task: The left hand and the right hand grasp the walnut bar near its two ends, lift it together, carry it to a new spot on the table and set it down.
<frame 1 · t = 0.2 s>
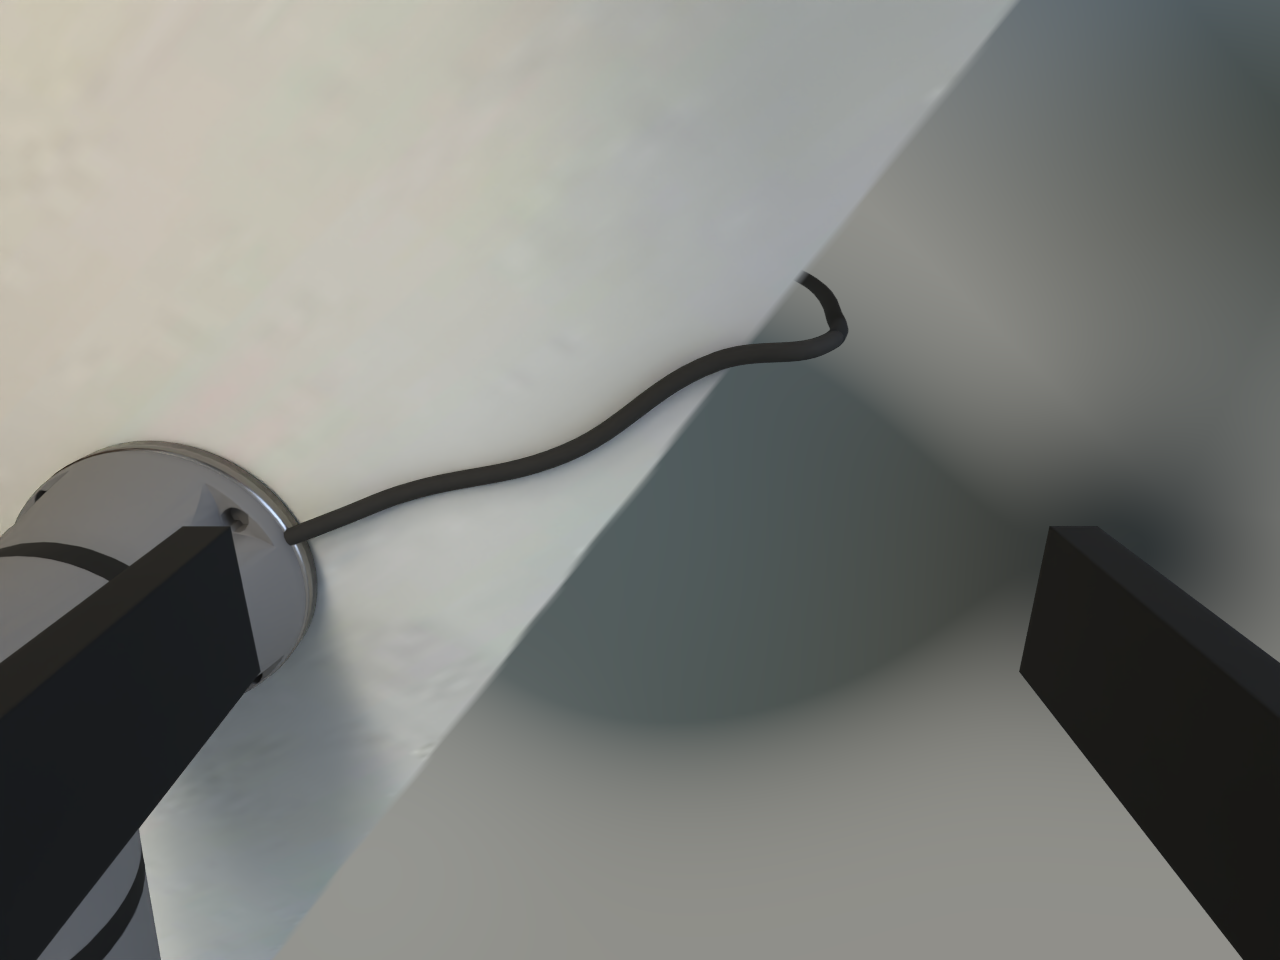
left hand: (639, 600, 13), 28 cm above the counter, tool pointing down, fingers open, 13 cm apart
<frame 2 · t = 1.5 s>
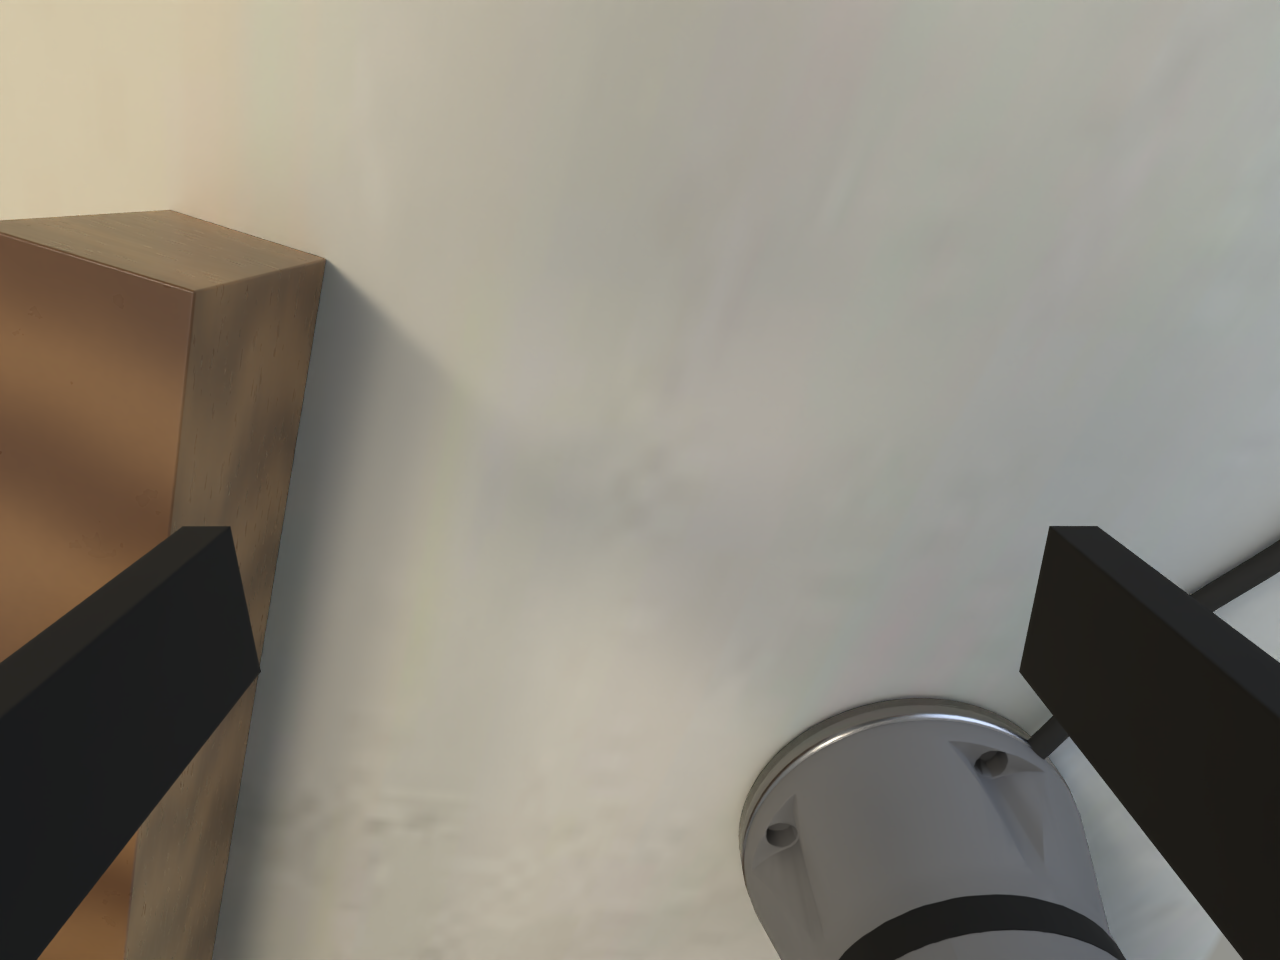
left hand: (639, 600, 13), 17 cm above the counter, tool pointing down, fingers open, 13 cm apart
bar: (176, 805, 36), on the counter
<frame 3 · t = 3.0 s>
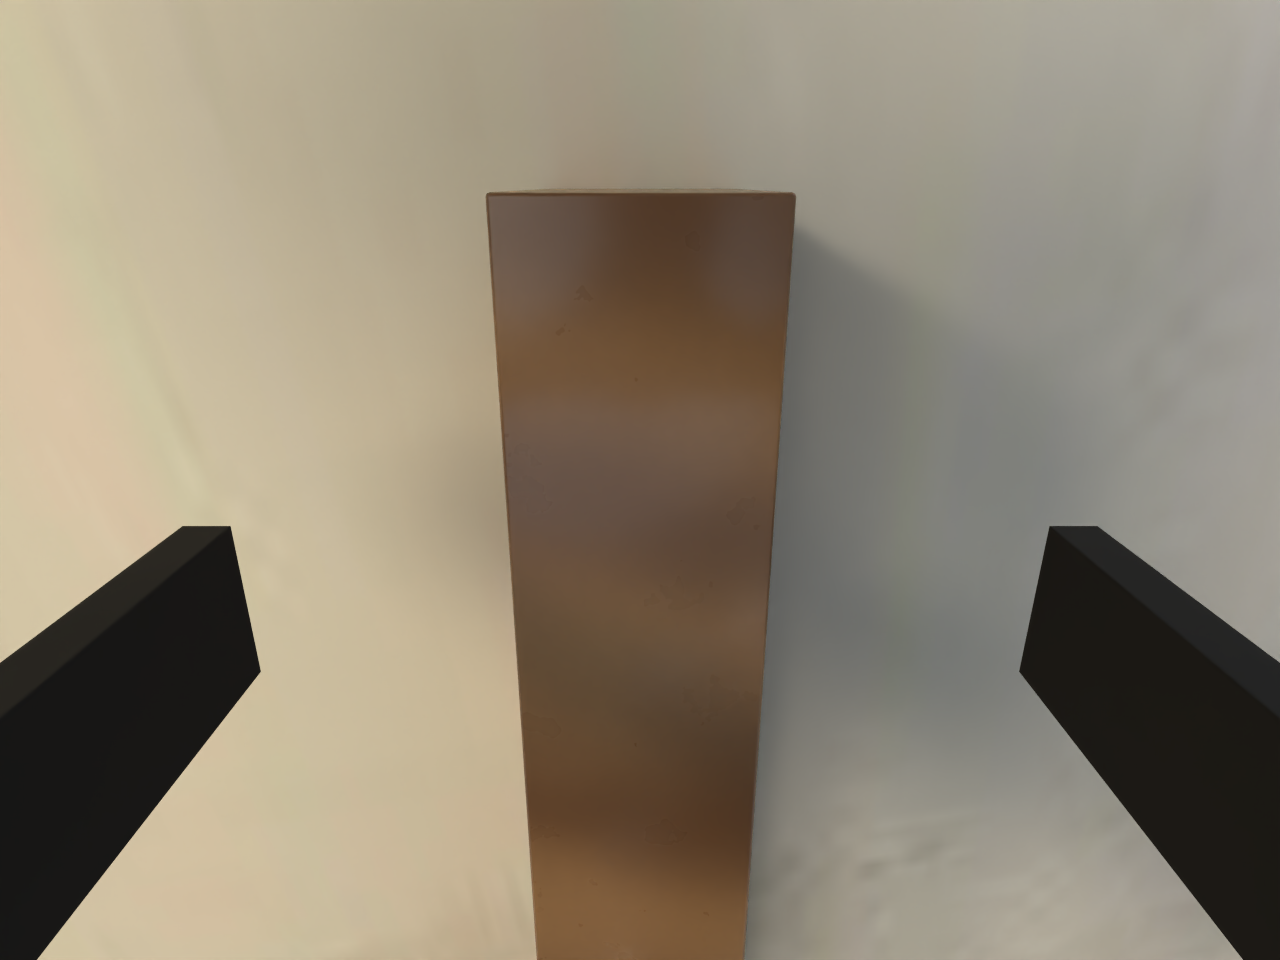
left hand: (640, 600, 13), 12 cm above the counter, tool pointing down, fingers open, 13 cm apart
bar: (640, 898, 31), on the counter, touching right hand
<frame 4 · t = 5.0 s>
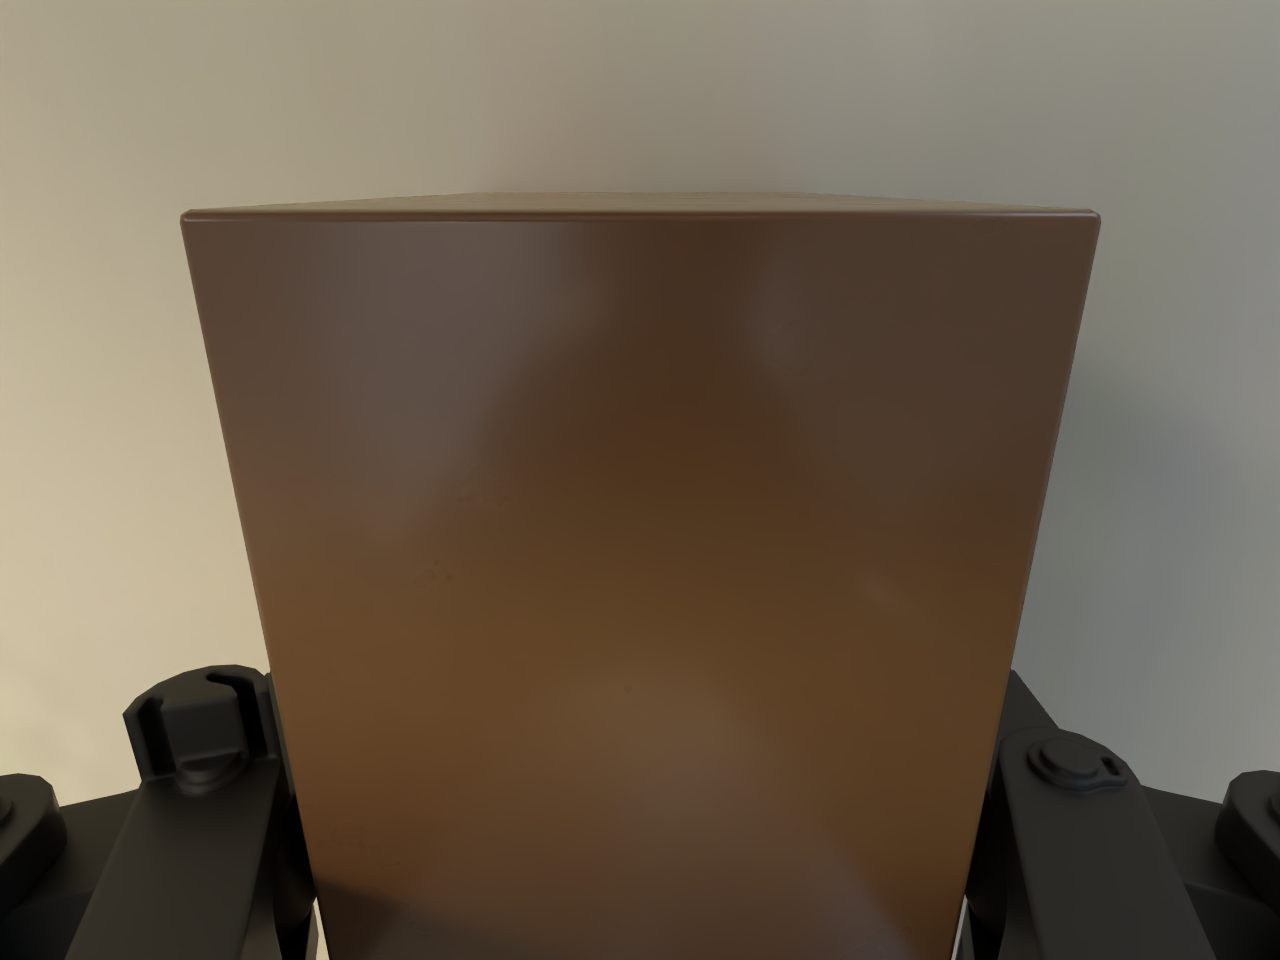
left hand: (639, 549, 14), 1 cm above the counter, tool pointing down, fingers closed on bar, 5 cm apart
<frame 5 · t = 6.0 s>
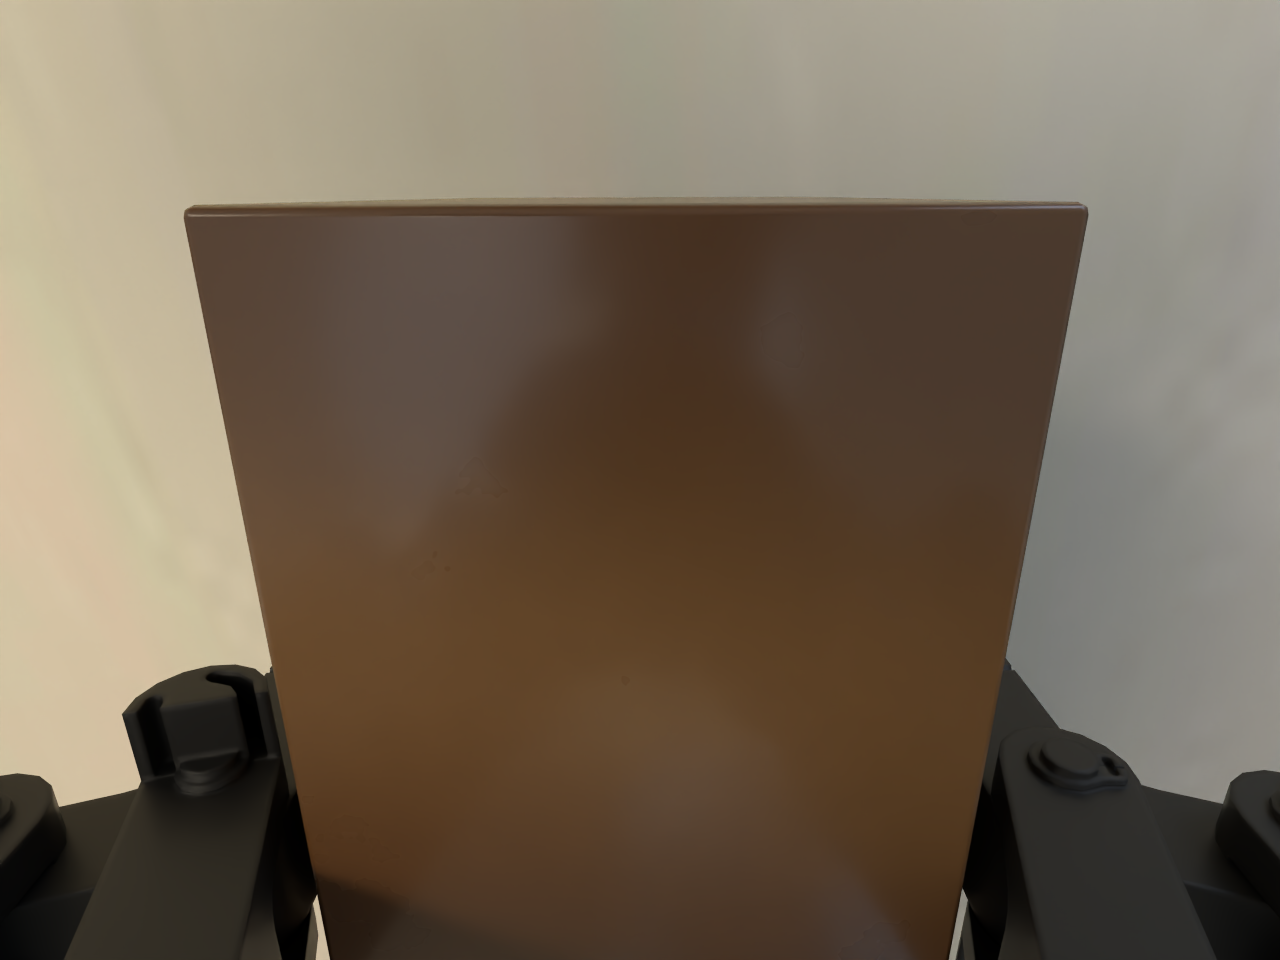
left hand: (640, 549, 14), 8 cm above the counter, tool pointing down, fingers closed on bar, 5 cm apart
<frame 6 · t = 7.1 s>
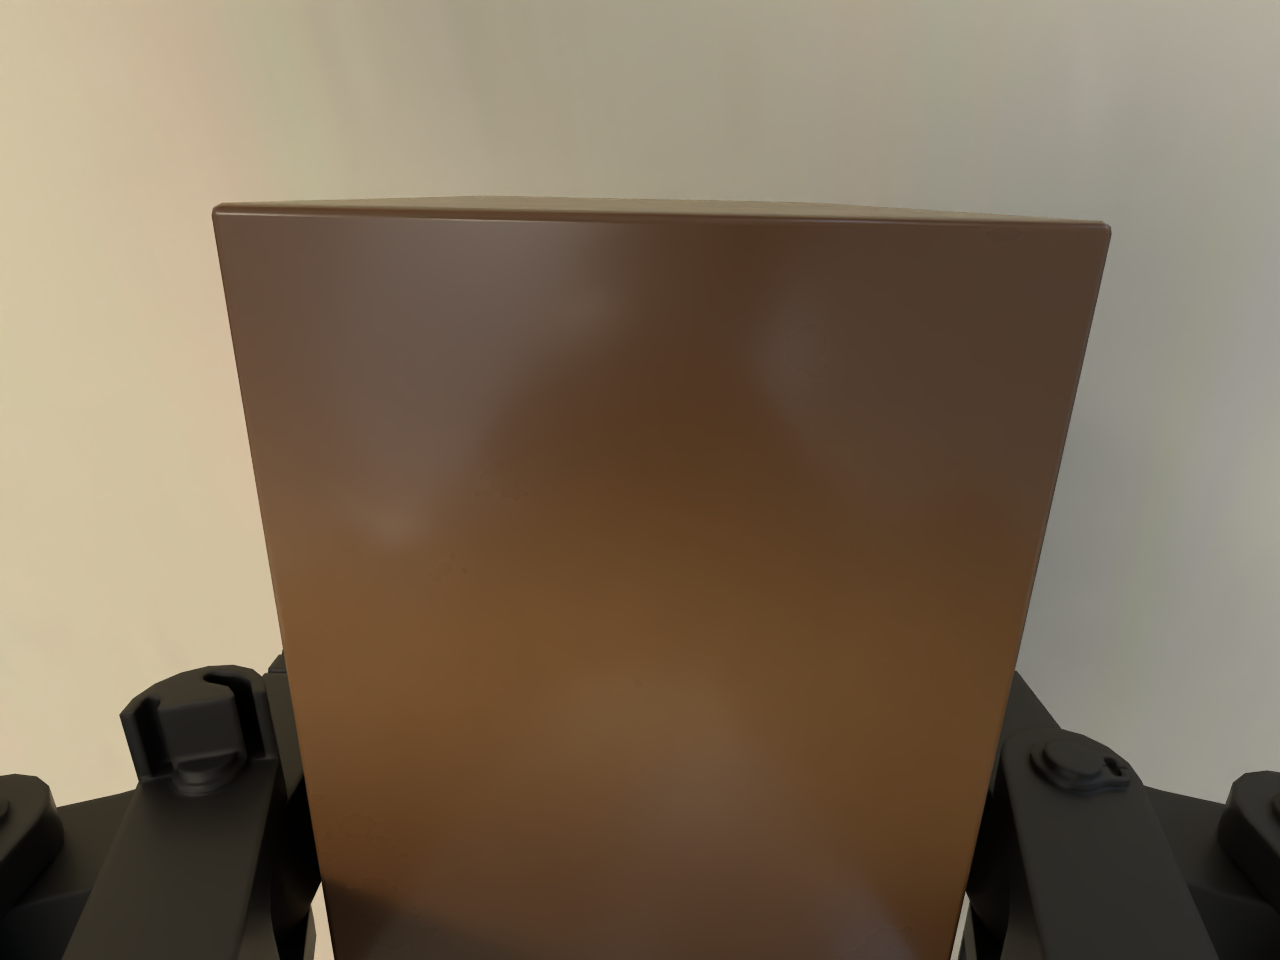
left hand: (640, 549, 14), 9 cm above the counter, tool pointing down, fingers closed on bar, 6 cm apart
when the left hand's fingers open (2 cm above the counter, at t = 9.2 s): bar drops 2 cm, on the counter.
when the right hand's fingers open (2 cm above the counter, at t = 9.2 s): bar drops 2 cm, on the counter.
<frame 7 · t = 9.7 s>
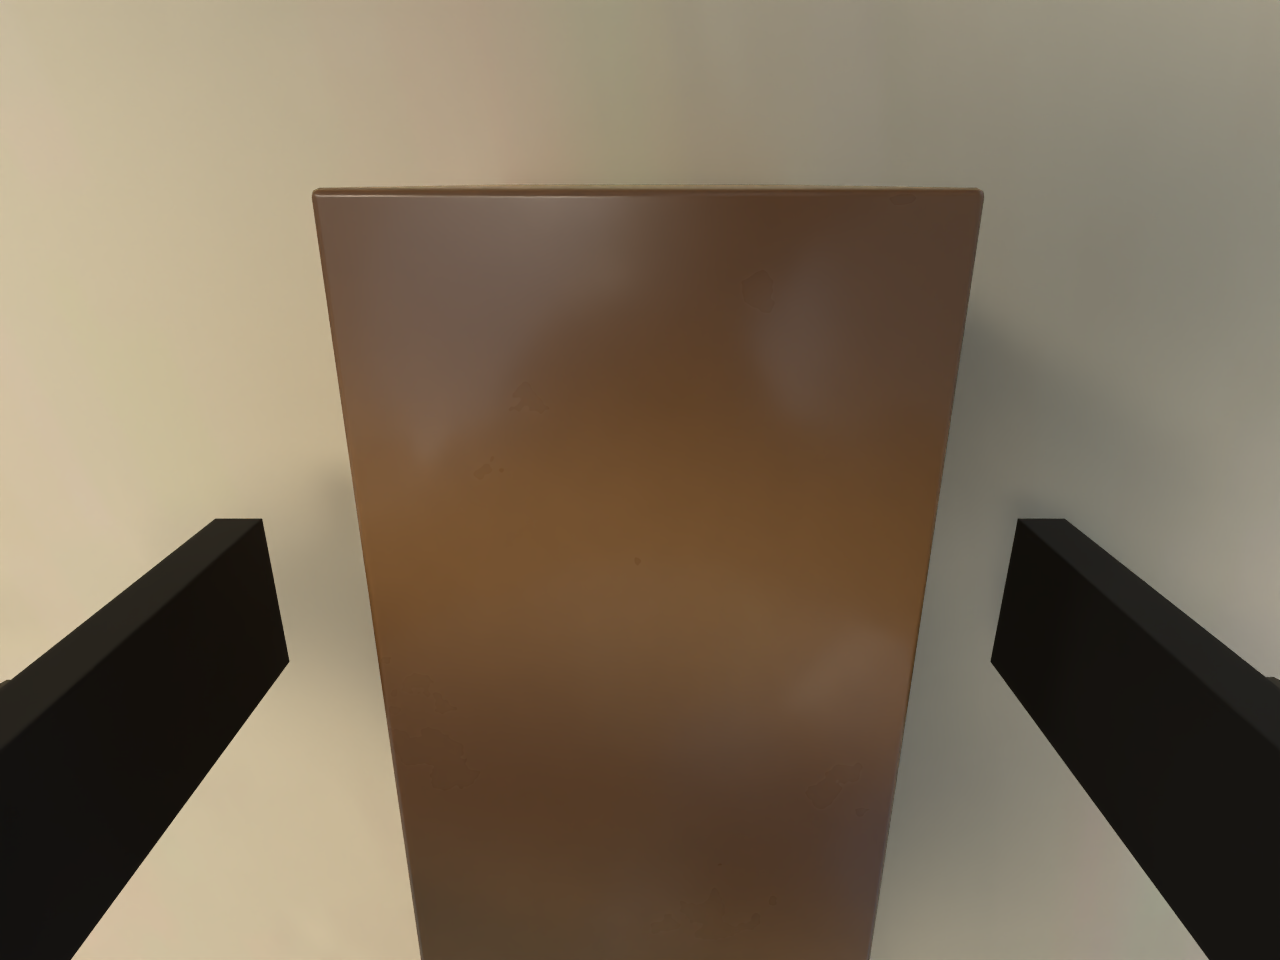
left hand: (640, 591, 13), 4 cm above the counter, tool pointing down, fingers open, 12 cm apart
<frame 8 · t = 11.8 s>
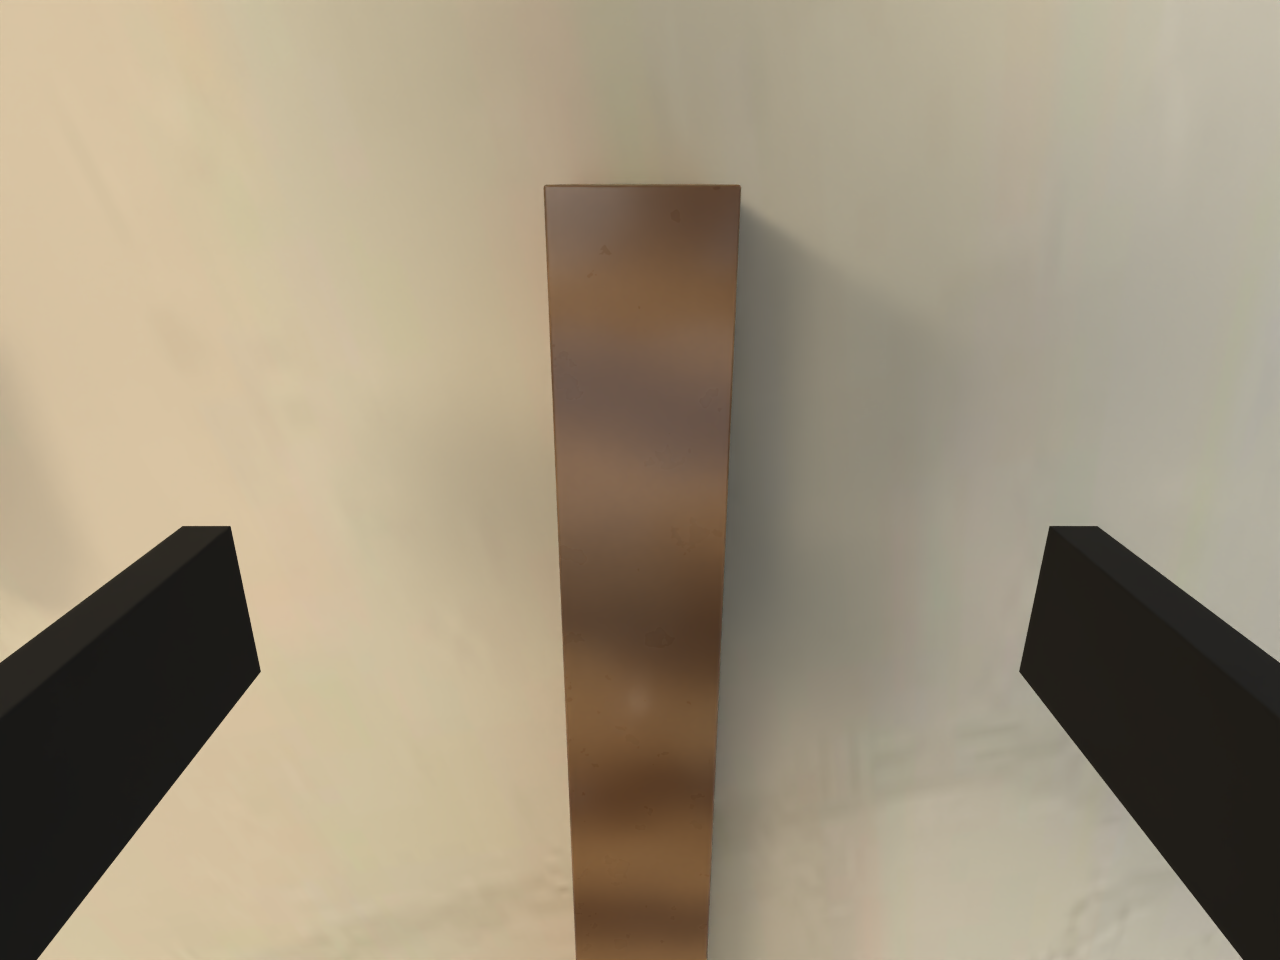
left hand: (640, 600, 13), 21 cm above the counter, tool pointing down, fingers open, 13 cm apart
bar: (641, 752, 39), on the counter
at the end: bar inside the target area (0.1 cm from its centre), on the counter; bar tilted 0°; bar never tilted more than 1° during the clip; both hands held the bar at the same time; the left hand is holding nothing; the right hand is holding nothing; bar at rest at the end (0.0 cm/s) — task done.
